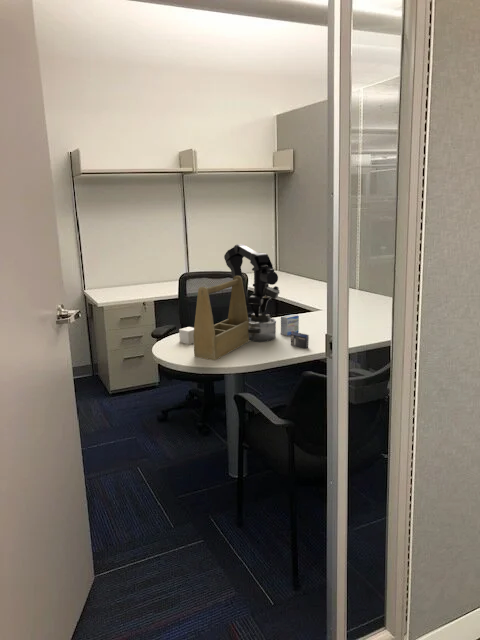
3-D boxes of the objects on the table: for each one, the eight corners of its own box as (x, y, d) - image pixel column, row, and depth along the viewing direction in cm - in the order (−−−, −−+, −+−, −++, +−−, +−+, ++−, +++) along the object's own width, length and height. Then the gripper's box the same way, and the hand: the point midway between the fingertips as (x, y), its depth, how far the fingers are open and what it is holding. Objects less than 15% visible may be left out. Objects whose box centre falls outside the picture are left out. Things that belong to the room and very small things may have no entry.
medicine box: (287, 336, 239) (287, 318, 237) (280, 334, 242) (280, 316, 240) (298, 332, 244) (299, 315, 242) (292, 331, 247) (292, 313, 245)
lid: (246, 324, 232) (246, 316, 231) (253, 319, 242) (253, 311, 241) (267, 326, 229) (267, 318, 228) (274, 321, 238) (274, 312, 237)
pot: (239, 341, 231) (239, 324, 229) (253, 331, 248) (252, 314, 246) (268, 344, 226) (268, 326, 224) (280, 333, 243) (280, 316, 241)
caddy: (215, 360, 206) (213, 287, 198) (193, 357, 211) (190, 285, 203) (249, 342, 230) (248, 276, 223) (229, 339, 235) (227, 274, 228)
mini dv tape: (290, 345, 225) (290, 332, 223) (292, 344, 226) (293, 331, 224) (306, 348, 219) (306, 335, 218) (308, 348, 220) (308, 334, 219)
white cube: (188, 344, 228) (188, 331, 227) (179, 342, 232) (179, 329, 231) (198, 341, 233) (197, 328, 231) (189, 339, 236) (188, 326, 235)
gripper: (271, 286, 219) (271, 321, 223) (283, 278, 236) (282, 311, 240) (247, 284, 223) (247, 319, 227) (260, 277, 240) (260, 310, 244)
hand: (260, 314), depth 234 cm, fingers open, 9 cm apart
